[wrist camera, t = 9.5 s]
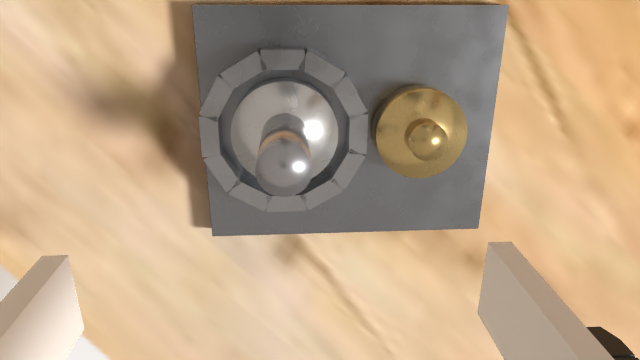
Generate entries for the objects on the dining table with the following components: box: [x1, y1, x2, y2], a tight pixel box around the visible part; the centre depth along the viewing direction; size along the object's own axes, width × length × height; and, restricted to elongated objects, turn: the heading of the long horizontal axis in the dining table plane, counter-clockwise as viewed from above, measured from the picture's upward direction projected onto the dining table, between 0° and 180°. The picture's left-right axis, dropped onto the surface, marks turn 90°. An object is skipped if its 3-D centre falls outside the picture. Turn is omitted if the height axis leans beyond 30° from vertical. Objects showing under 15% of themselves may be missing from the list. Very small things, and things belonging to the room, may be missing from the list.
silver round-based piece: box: [231, 78, 338, 197], centre depth 29 cm, size 7×7×8 cm
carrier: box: [192, 4, 509, 236], centre depth 32 cm, size 16×20×5 cm
